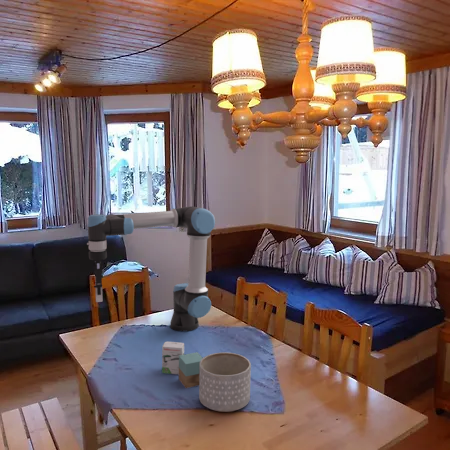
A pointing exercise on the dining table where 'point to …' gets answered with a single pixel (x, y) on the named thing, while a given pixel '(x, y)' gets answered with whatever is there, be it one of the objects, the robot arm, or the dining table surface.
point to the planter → (224, 381)
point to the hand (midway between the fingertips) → (99, 297)
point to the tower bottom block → (188, 379)
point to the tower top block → (190, 363)
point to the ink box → (171, 357)
